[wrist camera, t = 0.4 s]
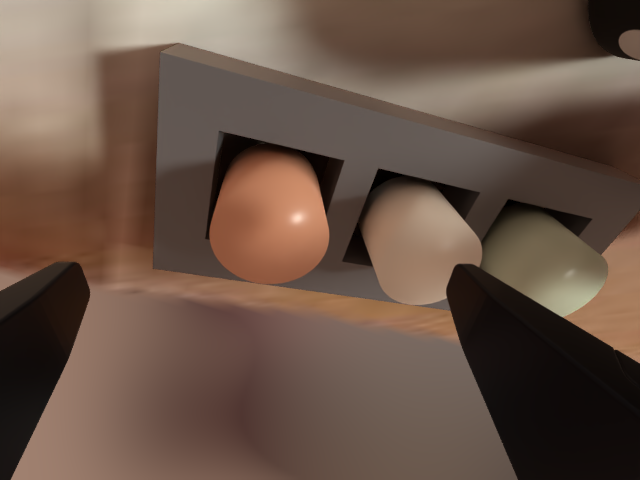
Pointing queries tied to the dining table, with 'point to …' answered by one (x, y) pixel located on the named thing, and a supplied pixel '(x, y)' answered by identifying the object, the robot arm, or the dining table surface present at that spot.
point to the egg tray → (352, 166)
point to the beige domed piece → (415, 239)
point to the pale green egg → (542, 259)
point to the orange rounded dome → (269, 216)
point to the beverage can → (616, 26)
